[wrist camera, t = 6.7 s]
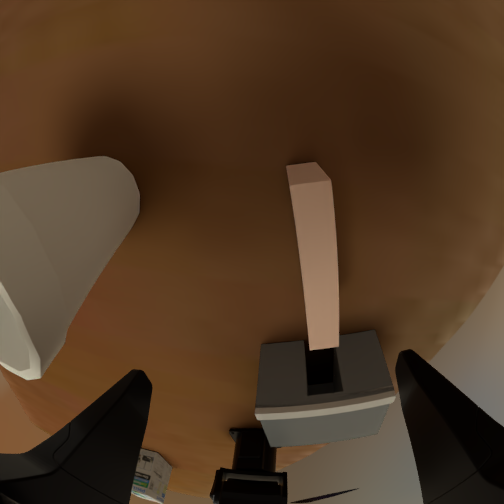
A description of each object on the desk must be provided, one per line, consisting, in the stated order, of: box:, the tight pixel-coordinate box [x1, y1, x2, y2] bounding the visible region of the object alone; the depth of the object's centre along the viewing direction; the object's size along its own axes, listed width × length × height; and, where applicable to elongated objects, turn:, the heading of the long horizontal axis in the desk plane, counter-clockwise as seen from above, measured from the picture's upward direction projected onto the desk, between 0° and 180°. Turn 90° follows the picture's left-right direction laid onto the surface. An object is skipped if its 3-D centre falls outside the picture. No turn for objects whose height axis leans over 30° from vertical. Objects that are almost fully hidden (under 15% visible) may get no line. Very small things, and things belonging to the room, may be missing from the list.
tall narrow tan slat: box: [286, 162, 339, 350], centre depth 16 cm, size 10×2×5 cm, turn 11°
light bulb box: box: [131, 449, 172, 504], centre depth 40 cm, size 11×7×11 cm, turn 4°
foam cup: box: [0, 156, 140, 380], centre depth 12 cm, size 10×9×13 cm
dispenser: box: [255, 330, 396, 447], centre depth 21 cm, size 8×10×7 cm
